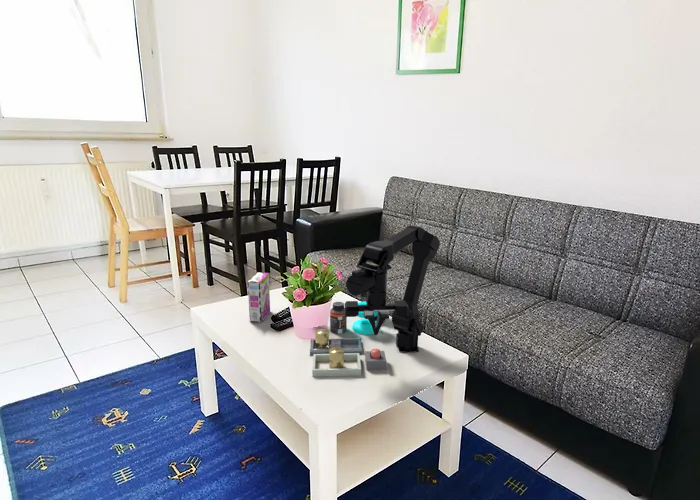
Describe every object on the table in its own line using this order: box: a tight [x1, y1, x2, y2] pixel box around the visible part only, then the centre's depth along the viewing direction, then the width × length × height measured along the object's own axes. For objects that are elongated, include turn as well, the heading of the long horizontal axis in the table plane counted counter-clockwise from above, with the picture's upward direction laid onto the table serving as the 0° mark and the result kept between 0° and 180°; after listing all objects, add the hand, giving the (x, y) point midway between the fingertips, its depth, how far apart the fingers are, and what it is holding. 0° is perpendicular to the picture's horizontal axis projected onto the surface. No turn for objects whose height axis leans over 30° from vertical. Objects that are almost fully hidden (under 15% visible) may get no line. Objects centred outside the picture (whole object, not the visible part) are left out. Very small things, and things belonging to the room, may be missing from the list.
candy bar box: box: [247, 271, 271, 323], centre depth 172 cm, size 11×5×16 cm, turn 172°
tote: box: [311, 353, 362, 377], centre depth 136 cm, size 14×9×3 cm, turn 92°
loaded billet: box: [315, 328, 330, 349], centre depth 147 cm, size 4×4×6 cm
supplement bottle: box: [329, 301, 348, 335], centre depth 159 cm, size 6×6×11 cm
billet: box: [328, 347, 345, 369], centre depth 136 cm, size 4×4×6 cm
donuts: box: [351, 300, 378, 336], centre depth 161 cm, size 10×10×10 cm
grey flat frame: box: [309, 337, 363, 357], centre depth 148 cm, size 17×10×2 cm, turn 92°
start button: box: [370, 348, 381, 359], centre depth 137 cm, size 3×3×3 cm
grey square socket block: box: [364, 350, 387, 371], centre depth 138 cm, size 6×6×4 cm
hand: (375, 334), depth 135 cm, fingers closed
